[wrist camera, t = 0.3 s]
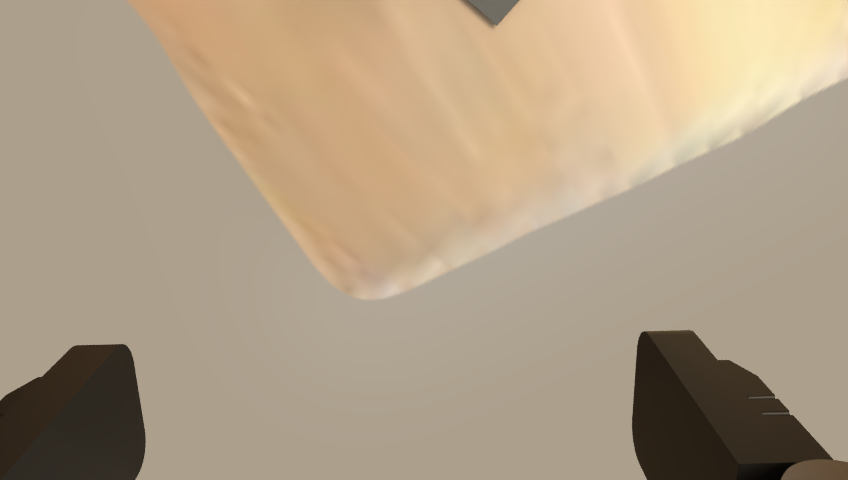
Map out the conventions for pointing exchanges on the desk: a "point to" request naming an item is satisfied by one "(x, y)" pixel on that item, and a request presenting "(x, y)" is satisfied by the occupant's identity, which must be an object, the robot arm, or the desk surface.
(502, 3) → the board
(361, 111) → the desk surface
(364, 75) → the desk surface
